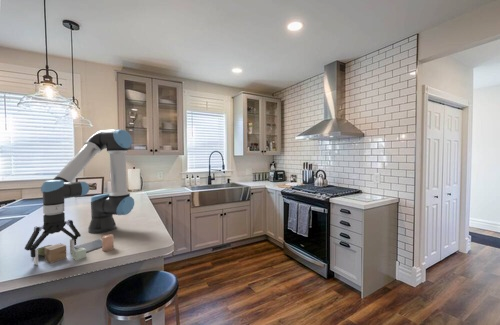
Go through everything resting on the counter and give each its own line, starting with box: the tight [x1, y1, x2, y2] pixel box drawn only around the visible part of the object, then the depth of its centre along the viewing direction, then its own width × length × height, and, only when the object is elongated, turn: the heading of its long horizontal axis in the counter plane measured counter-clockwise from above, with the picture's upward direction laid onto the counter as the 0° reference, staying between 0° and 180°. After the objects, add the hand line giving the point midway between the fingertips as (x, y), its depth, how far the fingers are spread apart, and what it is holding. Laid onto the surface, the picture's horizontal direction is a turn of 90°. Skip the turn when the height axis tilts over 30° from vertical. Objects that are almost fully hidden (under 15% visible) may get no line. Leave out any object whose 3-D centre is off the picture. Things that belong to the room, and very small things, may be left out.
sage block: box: [71, 247, 87, 261], centre depth 106 cm, size 4×4×4 cm
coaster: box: [74, 239, 102, 254], centre depth 119 cm, size 12×12×1 cm
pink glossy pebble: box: [101, 234, 115, 252], centre depth 115 cm, size 5×5×7 cm
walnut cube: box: [44, 243, 67, 264], centre depth 105 cm, size 6×6×6 cm
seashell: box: [37, 244, 53, 257], centre depth 110 cm, size 10×7×10 cm
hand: (55, 257), depth 105 cm, fingers open, 13 cm apart
